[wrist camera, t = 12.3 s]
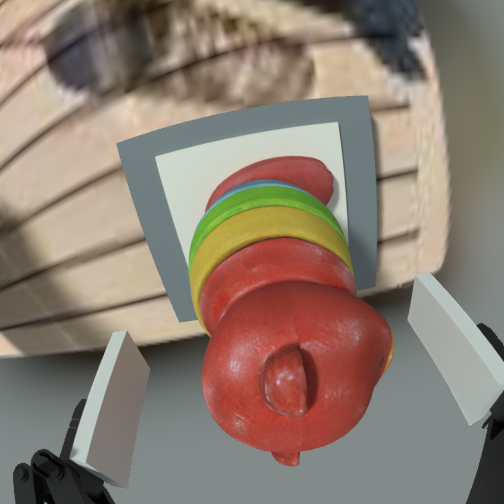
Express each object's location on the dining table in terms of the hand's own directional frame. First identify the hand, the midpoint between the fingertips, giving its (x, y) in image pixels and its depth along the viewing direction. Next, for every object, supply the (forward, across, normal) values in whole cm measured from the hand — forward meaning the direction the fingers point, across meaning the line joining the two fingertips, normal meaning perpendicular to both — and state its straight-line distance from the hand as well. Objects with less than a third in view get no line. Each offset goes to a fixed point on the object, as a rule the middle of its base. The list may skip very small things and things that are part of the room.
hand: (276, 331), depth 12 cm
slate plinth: (+16, +1, 0) cm, 16 cm away
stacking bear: (+13, +1, 0) cm, 13 cm away
